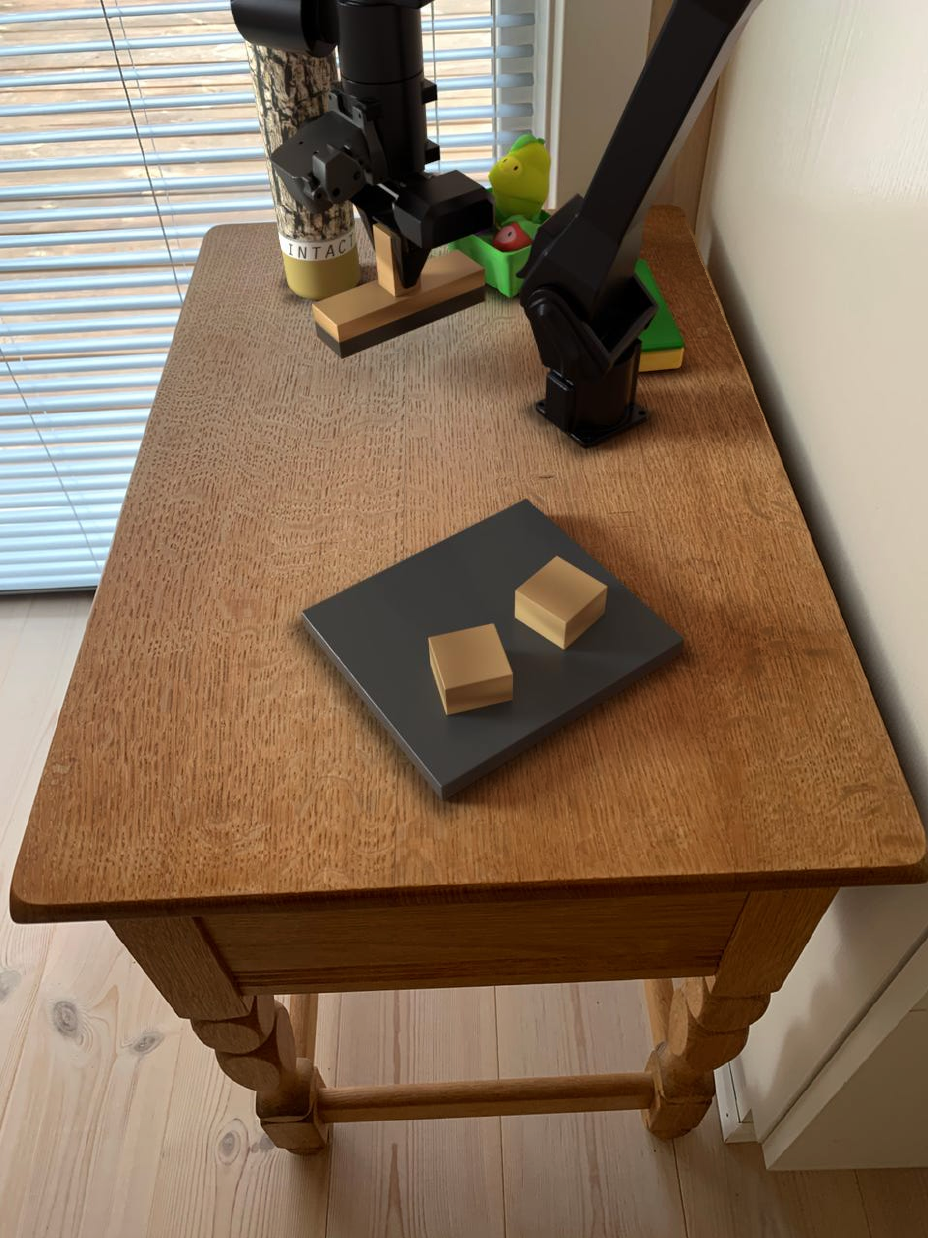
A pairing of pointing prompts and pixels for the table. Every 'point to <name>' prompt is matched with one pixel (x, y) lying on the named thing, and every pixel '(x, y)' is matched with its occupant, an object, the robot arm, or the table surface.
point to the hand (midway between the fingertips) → (399, 279)
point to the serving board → (485, 594)
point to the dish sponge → (659, 330)
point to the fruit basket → (512, 214)
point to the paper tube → (309, 241)
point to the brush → (397, 300)
